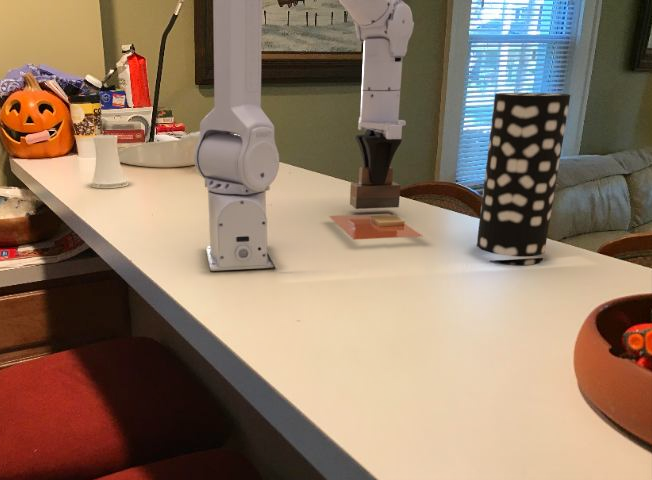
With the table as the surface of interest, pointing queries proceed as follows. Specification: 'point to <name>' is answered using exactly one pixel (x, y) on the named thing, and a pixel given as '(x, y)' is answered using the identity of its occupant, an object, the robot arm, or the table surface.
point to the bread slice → (387, 220)
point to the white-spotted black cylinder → (521, 174)
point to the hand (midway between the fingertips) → (375, 181)
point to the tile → (371, 227)
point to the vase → (107, 163)
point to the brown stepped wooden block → (374, 192)
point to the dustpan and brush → (162, 152)
